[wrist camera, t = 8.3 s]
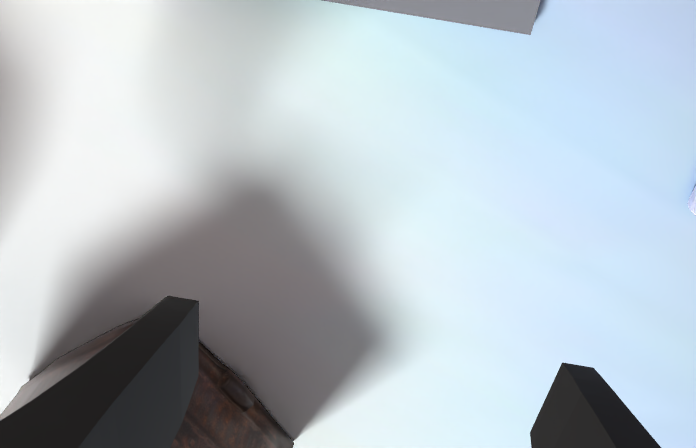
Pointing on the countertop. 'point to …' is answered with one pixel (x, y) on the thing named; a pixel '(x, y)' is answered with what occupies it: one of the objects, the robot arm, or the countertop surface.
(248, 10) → the countertop surface
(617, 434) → the robot arm
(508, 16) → the slate mat
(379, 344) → the countertop surface
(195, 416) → the coffee grinder
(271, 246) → the countertop surface
